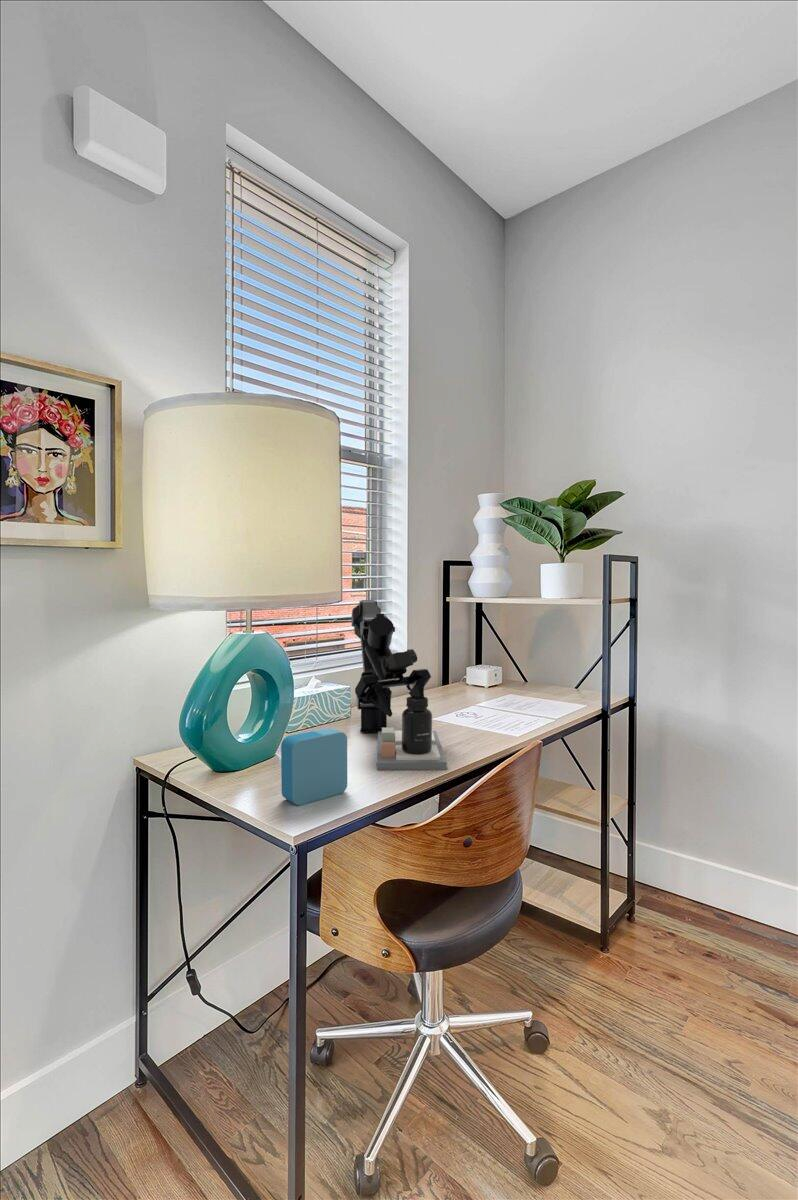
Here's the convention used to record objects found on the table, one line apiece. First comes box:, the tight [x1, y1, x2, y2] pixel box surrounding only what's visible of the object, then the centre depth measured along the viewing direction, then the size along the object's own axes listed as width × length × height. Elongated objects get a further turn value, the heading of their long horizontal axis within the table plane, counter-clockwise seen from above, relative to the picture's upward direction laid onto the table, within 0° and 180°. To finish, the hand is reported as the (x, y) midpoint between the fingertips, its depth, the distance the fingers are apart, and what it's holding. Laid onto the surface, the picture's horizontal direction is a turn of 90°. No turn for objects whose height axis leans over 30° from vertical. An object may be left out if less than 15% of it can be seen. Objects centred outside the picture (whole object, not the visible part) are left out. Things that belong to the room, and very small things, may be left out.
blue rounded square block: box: [280, 727, 348, 806], centre depth 114 cm, size 12×4×12 cm, turn 130°
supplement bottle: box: [401, 696, 433, 754], centre depth 136 cm, size 7×7×12 cm
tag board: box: [376, 727, 448, 771], centre depth 143 cm, size 15×26×4 cm, turn 1°
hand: (407, 712), depth 139 cm, fingers open, 9 cm apart
